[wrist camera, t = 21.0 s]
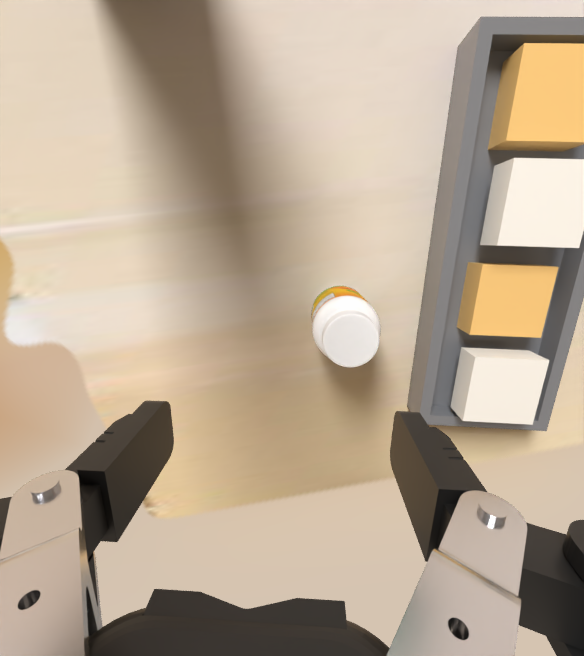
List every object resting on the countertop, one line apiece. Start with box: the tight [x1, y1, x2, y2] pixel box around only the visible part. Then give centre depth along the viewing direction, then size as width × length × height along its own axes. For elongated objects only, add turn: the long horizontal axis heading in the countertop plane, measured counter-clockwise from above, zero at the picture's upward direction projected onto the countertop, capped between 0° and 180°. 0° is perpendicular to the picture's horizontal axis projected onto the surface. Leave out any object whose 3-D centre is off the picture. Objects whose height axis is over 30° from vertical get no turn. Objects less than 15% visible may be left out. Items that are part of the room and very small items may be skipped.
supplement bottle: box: [311, 286, 381, 367], centre depth 27 cm, size 5×5×10 cm
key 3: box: [457, 262, 559, 338], centre depth 28 cm, size 6×6×2 cm
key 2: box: [480, 158, 584, 248], centre depth 24 cm, size 6×6×2 cm
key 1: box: [488, 43, 584, 151], centre depth 24 cm, size 6×6×2 cm
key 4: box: [451, 347, 549, 425], centre depth 28 cm, size 6×6×2 cm
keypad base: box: [407, 17, 584, 431], centre depth 28 cm, size 32×12×4 cm, turn 178°
